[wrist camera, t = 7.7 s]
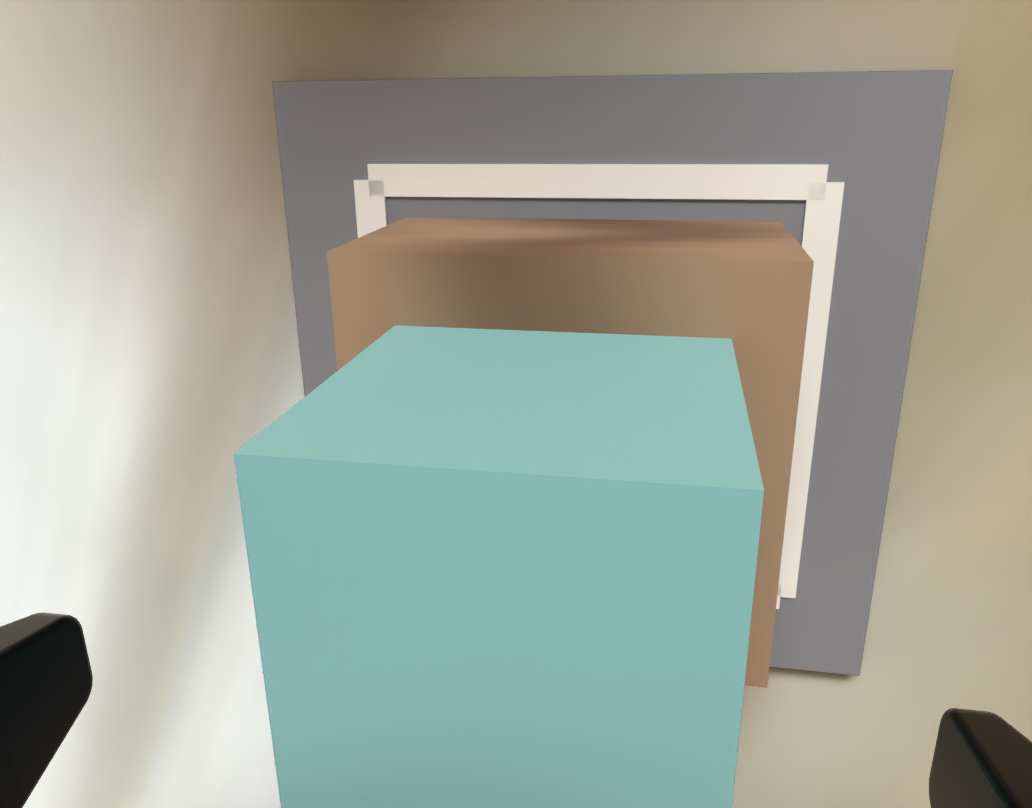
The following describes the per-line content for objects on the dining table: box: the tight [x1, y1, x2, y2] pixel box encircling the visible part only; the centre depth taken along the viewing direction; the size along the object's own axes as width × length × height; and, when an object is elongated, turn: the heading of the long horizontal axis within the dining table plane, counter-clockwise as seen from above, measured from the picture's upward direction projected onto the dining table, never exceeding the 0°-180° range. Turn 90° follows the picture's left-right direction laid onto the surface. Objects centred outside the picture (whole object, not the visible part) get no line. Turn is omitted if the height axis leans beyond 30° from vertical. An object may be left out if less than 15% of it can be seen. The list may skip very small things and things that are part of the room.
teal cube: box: [234, 326, 764, 808], centre depth 11 cm, size 5×5×5 cm
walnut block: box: [327, 217, 814, 687], centre depth 15 cm, size 7×7×4 cm
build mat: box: [272, 70, 953, 676], centre depth 17 cm, size 12×12×1 cm
